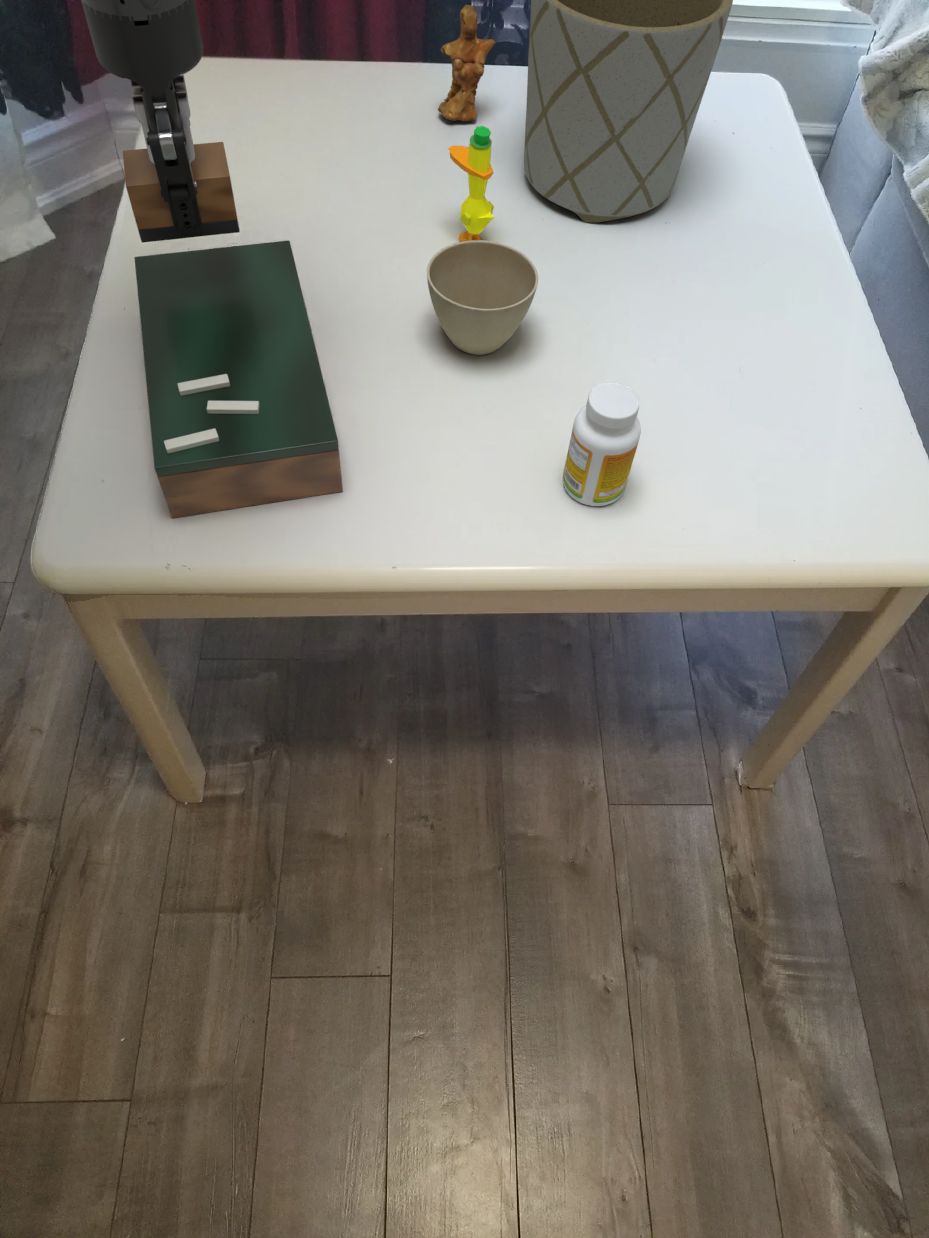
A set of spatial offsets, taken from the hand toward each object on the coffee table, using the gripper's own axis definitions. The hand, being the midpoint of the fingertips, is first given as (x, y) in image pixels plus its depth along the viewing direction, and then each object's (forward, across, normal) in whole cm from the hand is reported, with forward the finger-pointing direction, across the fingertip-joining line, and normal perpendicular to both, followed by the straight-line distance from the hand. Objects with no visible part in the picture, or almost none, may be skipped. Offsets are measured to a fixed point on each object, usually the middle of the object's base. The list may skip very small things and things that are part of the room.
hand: (186, 212), depth 76 cm
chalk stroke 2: (+6, +20, -2) cm, 21 cm away
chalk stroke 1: (+6, +14, -1) cm, 16 cm away
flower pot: (+12, +6, +24) cm, 28 cm away
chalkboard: (+12, +9, +1) cm, 15 cm away
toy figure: (+12, -9, +27) cm, 31 cm away
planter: (+12, -17, +44) cm, 49 cm away
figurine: (+12, -32, +32) cm, 47 cm away
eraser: (+1, 0, 0) cm, 1 cm away
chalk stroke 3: (+6, +17, +1) cm, 18 cm away
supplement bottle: (+12, +26, +30) cm, 41 cm away
